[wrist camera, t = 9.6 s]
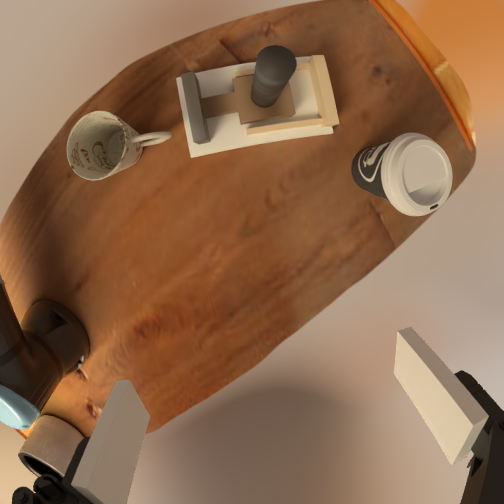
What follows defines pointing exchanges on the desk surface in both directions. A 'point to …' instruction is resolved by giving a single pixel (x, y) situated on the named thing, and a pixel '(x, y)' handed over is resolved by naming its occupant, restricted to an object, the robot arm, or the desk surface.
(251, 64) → the white slotted peg base
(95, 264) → the desk surface
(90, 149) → the mug
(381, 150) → the coffee cup
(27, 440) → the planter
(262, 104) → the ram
